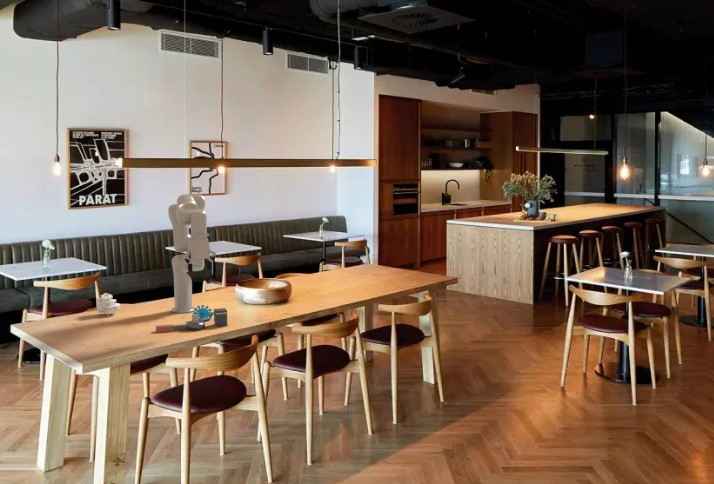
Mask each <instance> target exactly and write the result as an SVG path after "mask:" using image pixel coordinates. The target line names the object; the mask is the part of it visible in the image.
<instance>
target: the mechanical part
mask: <svg viewBox="0 0 714 484" xmlns="http://www.w3.org/2000/svg"><path fill="white" fill-rule="evenodd" d="M120 308H121V303H118V302H117V299H113V295H112V294H110V293H107V292H105V293H103V294H101V295H100V297H97V298H96V310H97V313H99V314H102V313H103V316H105V315H106V314H107V316H108V317H109V316H110V314H112V313H113V316H116V312H117V311H118V309H120Z"/></svg>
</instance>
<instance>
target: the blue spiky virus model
mask: <svg viewBox="0 0 714 484" xmlns="http://www.w3.org/2000/svg"><path fill="white" fill-rule="evenodd" d="M200 307H201V308H200ZM194 308H195V309H194V310H195V311H193V312H192V313H193V314H199V321H204V322H205V320H206V322H209V319H212V318H213V317H214V311H212V308H209V306H208V305H206V306H205V305H204V304H201V305H197V306H196V307H194Z"/></svg>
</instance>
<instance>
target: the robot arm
mask: <svg viewBox="0 0 714 484" xmlns="http://www.w3.org/2000/svg"><path fill="white" fill-rule="evenodd" d="M205 207H206V199H205V197H204V196H203V195H202V194H199V193H193V194H192V193H191V194H190V193H189V194H188V193H185V194H181V195H179V196H178V198H177V199H176V203H174V204H170V206H169V207H168V209H167V211H168V212H167V213H168V218H169V220H170V224H171V226H172V237H173V248H174V250H175V252H178V253H183V254H177V255H175V256H173V257H172V259H171V266H172V271H173V291H174V292H173V293H174V299H173V300H174V307H172V308H171V312H172V313H176V314H177V313H178V314H181V313H182V314H185V313H193V312H194V311H195V310H194V309H195V308H196V307H194V306H193V282H192V277H191V276H190V275H189V274H188V272H189V273H192V272H199V271H200V272H201V271H202V270H204V268H205V260H206V270H207V271H211V269H212V262H213V260H214V259H215V257H216V255H217V252H215V251H213V250H210V249H211V247H210V242H209V239H208V237H210V233H208V232H207V231H208V230H207V227H208V226H207V220H208V214H207V212H206V211H205ZM189 226H190V228H189ZM195 312H196V311H195Z"/></svg>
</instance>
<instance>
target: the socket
mask: <svg viewBox="0 0 714 484" xmlns="http://www.w3.org/2000/svg"><path fill="white" fill-rule="evenodd" d="M213 312H214V315H213V324H214V326H215V327H216V328H217V327H228V309H226V308H225V307H223V308H221V307H220V308H214V309H213Z"/></svg>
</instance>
